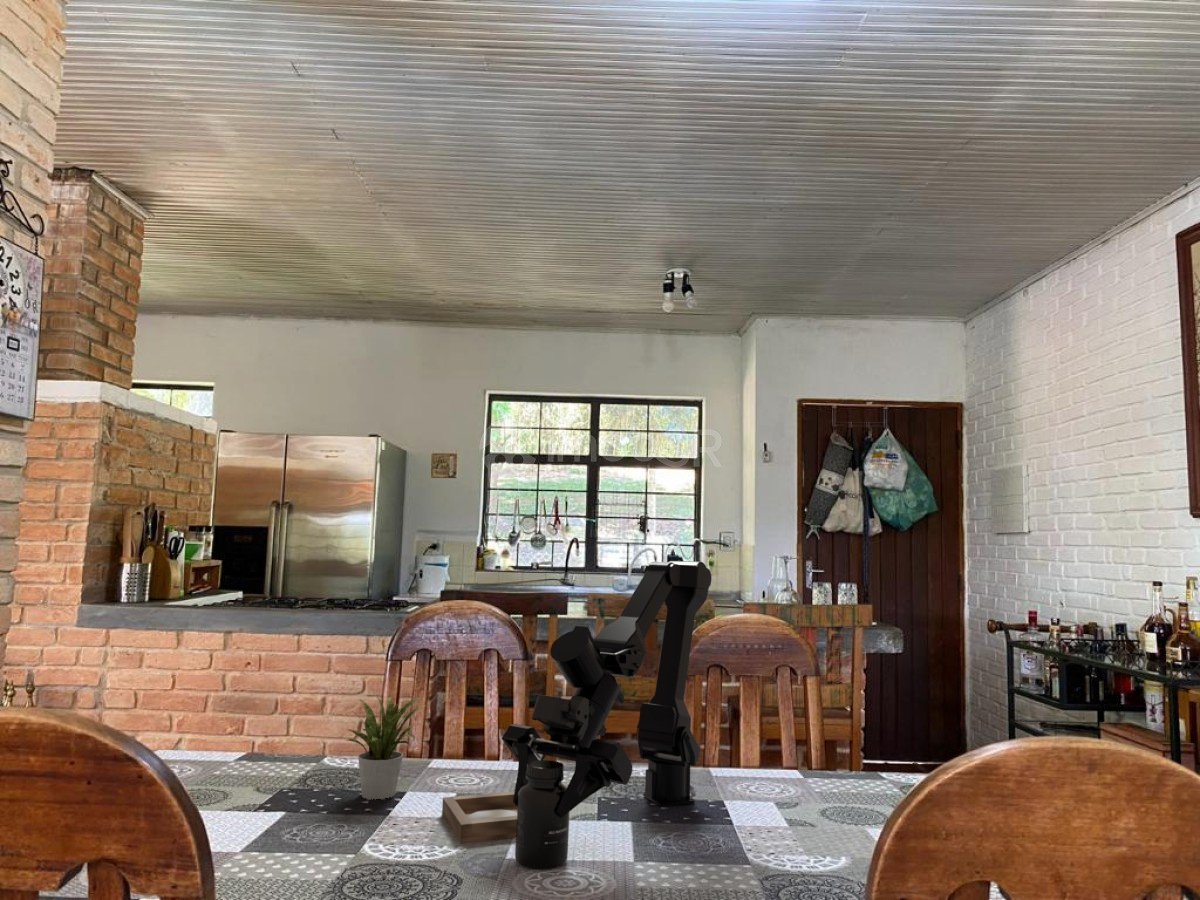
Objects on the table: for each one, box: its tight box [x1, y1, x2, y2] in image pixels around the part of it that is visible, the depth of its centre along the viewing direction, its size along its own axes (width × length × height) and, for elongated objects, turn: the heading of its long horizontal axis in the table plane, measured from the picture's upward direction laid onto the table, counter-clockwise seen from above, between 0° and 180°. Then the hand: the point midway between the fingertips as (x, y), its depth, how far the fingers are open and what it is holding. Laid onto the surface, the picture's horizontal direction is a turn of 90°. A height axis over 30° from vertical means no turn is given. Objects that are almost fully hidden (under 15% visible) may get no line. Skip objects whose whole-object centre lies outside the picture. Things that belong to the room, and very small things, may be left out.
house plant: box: [344, 692, 430, 801], centre depth 130 cm, size 14×14×16 cm
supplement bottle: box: [514, 759, 570, 871], centre depth 103 cm, size 7×7×12 cm
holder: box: [441, 790, 517, 844], centre depth 116 cm, size 13×13×2 cm
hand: (536, 809), depth 102 cm, fingers closed on supplement bottle, 7 cm apart
